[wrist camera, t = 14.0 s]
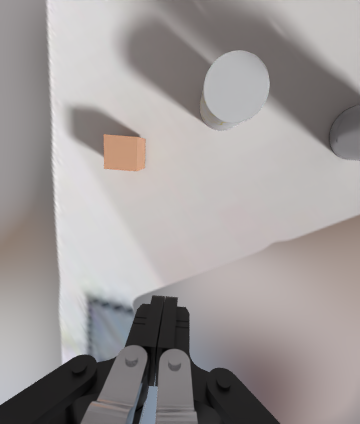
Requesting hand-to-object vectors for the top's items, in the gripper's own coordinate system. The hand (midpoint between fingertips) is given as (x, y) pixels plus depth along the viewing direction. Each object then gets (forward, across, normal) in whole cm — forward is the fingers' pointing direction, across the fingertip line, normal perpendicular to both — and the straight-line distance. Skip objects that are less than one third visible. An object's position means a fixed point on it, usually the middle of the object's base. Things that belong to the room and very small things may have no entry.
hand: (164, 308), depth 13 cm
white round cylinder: (+32, -6, -17) cm, 37 cm away
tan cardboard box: (+31, +10, -8) cm, 33 cm away
